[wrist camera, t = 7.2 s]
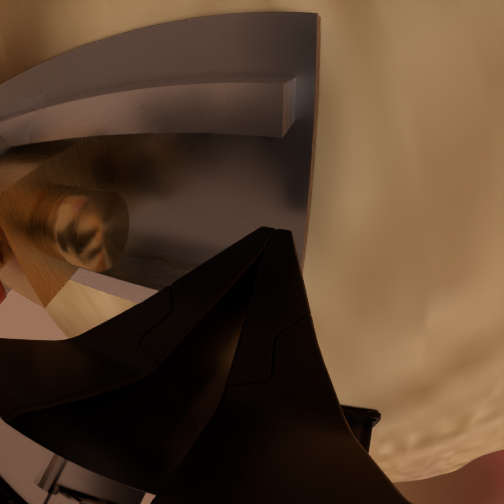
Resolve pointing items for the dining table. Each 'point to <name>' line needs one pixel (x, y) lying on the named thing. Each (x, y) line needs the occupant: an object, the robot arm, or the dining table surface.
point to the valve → (55, 218)
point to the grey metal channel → (184, 134)
